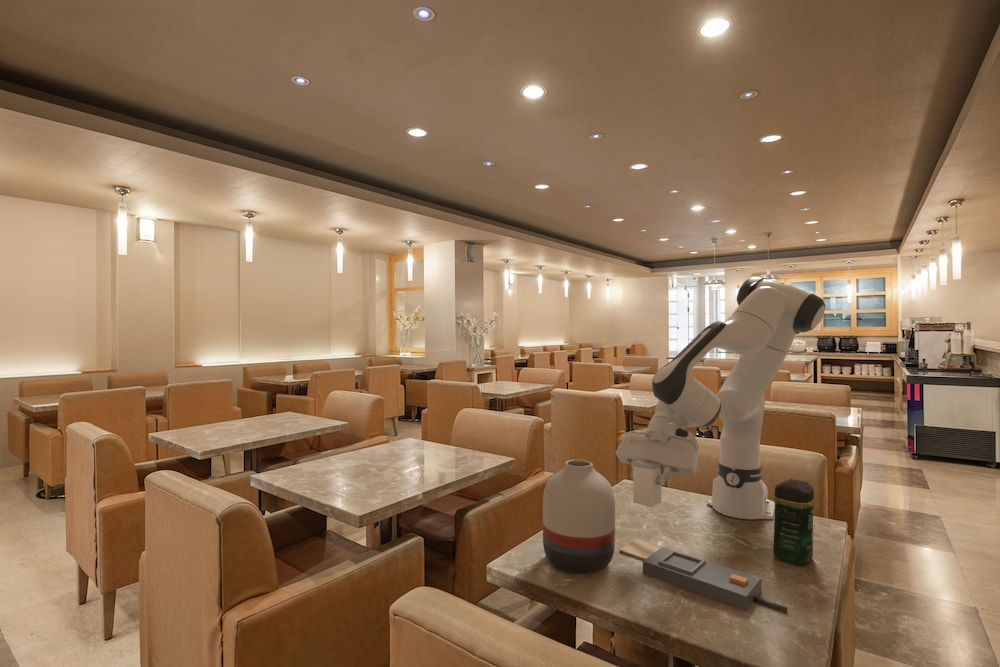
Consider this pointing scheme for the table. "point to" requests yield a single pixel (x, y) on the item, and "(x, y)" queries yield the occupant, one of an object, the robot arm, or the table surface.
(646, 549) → the coaster
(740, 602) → the power strip
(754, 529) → the table surface
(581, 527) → the vase
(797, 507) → the coffee jar
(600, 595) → the table surface
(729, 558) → the table surface
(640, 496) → the block
